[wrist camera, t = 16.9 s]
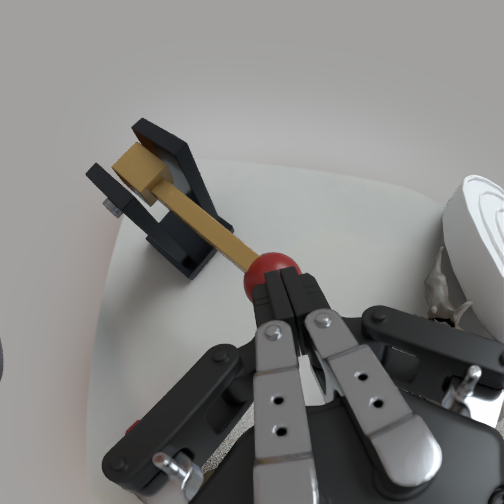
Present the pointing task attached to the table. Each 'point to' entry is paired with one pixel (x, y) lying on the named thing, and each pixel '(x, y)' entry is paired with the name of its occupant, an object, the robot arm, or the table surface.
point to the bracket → (170, 227)
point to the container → (478, 248)
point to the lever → (194, 215)
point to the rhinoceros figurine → (444, 304)
